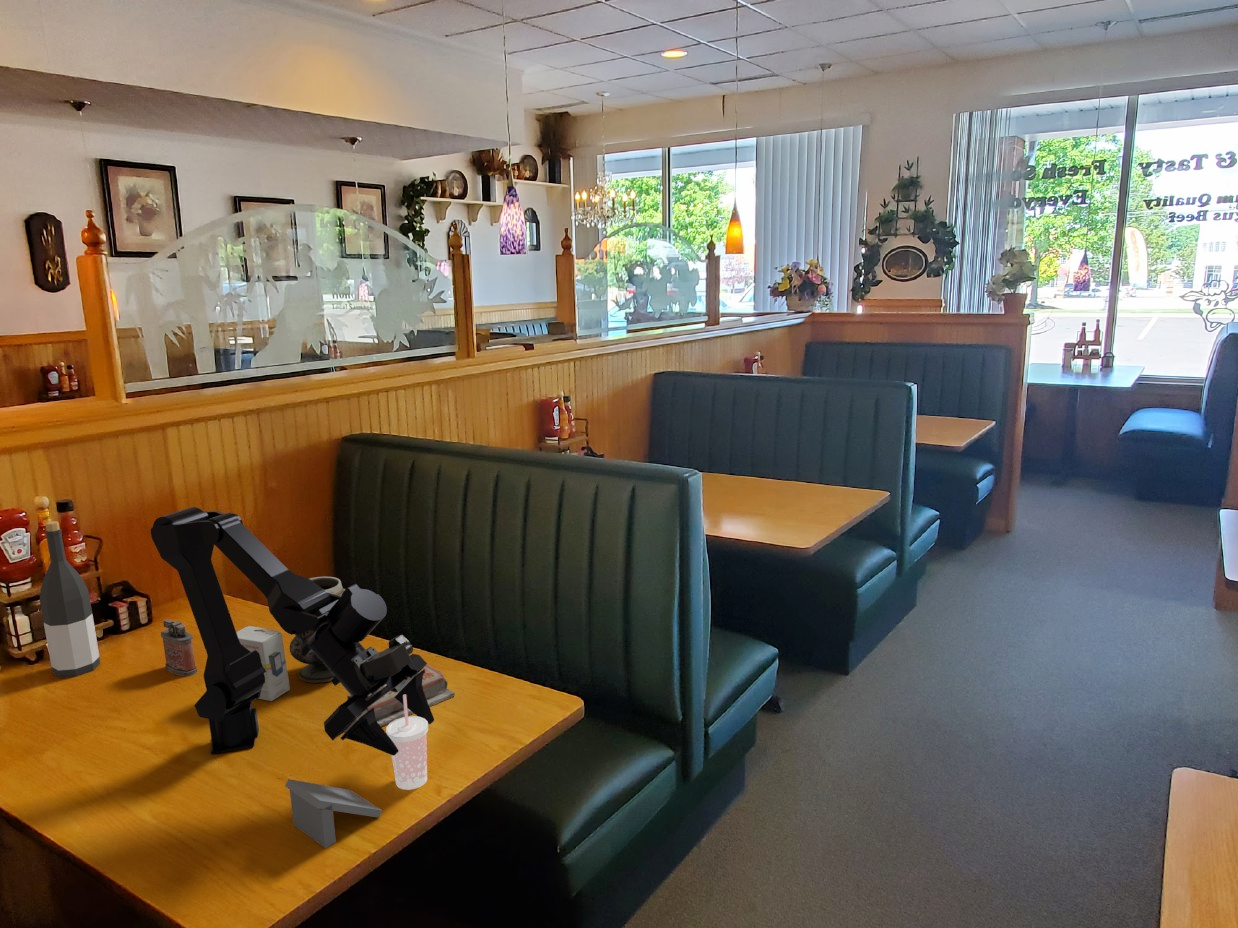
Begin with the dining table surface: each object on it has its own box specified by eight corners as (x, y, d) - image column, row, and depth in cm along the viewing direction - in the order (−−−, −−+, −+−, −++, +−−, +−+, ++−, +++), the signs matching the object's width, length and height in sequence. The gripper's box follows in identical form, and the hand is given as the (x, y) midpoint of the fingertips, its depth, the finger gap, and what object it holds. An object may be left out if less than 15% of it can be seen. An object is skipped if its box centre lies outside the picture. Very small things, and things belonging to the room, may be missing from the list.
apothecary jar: (358, 680, 162) (349, 590, 159) (290, 690, 159) (279, 598, 155) (358, 654, 174) (350, 569, 170) (294, 663, 171) (285, 576, 167)
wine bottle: (42, 676, 168) (15, 527, 161) (77, 658, 175) (52, 515, 169) (76, 679, 166) (51, 529, 159) (110, 661, 173) (86, 517, 167)
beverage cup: (440, 779, 130) (434, 693, 127) (405, 797, 125) (398, 709, 122) (417, 764, 134) (410, 681, 131) (382, 781, 130) (374, 696, 127)
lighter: (201, 671, 168) (195, 622, 166) (185, 677, 165) (178, 629, 163) (178, 662, 172) (171, 615, 170) (161, 668, 170) (154, 620, 167)
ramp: (350, 794, 126) (346, 750, 125) (382, 815, 121) (378, 769, 120) (289, 826, 119) (284, 780, 118) (321, 850, 114) (316, 802, 113)
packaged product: (423, 657, 162) (453, 673, 155) (425, 681, 163) (455, 698, 156) (333, 690, 149) (361, 710, 142) (335, 716, 150) (364, 737, 143)
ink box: (291, 690, 159) (284, 630, 157) (270, 702, 155) (262, 641, 152) (255, 683, 163) (248, 624, 160) (233, 695, 158) (226, 635, 155)
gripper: (332, 653, 117) (407, 740, 116) (411, 604, 134) (478, 679, 133) (292, 697, 122) (364, 782, 120) (374, 645, 139) (438, 718, 137)
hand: (414, 737), depth 128 cm, fingers open, 9 cm apart
